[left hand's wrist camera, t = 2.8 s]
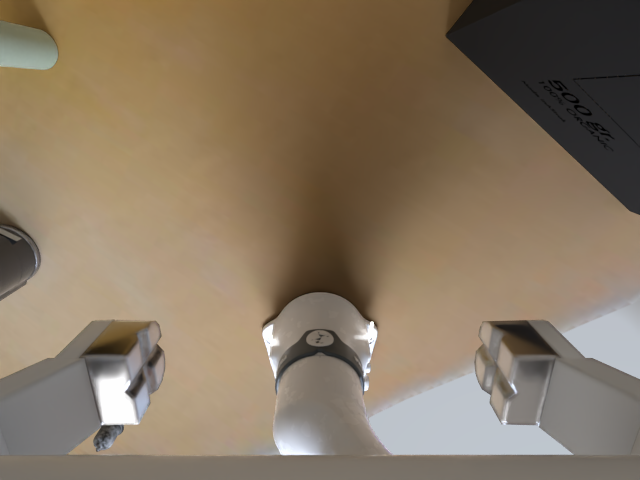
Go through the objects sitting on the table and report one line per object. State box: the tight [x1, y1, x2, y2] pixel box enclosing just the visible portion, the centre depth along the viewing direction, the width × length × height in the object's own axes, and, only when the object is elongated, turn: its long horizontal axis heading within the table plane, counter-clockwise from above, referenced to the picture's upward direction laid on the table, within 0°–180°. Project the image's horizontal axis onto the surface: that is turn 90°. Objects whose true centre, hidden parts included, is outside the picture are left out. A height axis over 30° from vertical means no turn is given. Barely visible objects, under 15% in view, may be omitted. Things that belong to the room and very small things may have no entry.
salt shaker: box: [93, 425, 124, 452], centre depth 64 cm, size 6×6×12 cm
